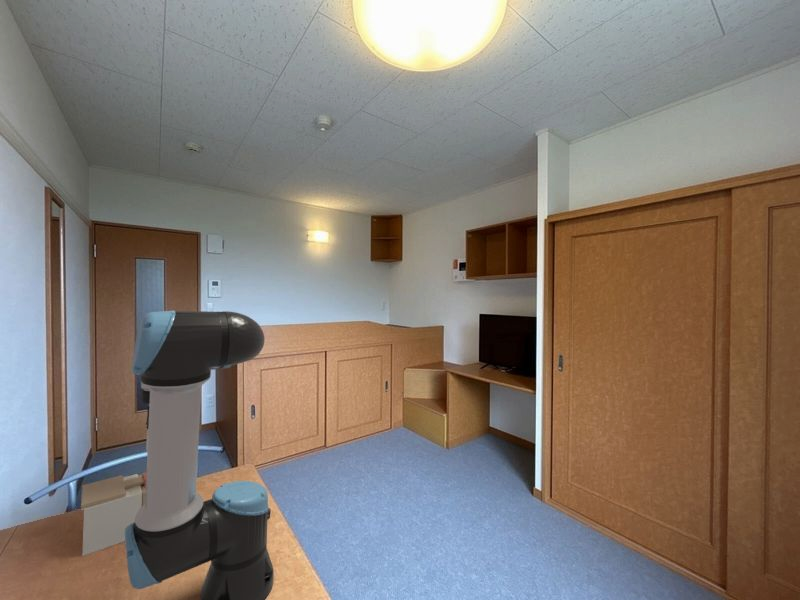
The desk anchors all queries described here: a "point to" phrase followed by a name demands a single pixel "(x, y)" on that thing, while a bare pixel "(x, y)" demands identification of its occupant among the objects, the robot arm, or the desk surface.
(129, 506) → the carton
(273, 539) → the desk surface
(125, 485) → the flap
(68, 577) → the desk surface
